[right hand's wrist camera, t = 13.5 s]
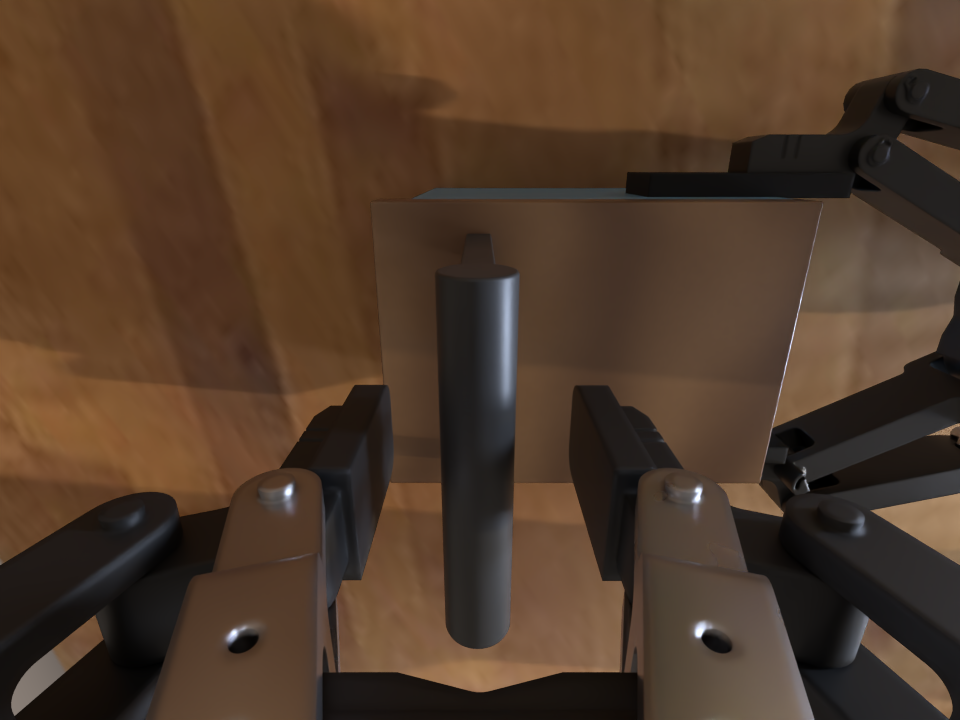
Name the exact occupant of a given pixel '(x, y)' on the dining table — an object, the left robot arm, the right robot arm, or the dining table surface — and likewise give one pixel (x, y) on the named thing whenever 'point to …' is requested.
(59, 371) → the dining table surface
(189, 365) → the dining table surface
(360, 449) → the right robot arm
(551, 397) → the lid
